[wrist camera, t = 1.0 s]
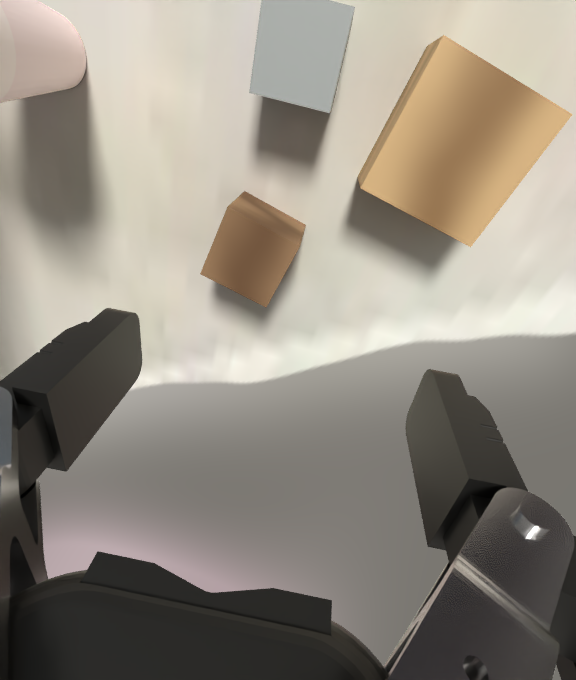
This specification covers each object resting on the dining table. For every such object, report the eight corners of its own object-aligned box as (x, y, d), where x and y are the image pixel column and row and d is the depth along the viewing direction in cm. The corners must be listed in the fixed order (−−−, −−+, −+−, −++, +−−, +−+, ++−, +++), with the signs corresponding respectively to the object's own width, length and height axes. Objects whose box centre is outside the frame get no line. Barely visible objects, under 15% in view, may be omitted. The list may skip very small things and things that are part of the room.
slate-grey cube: (263, 94, 22) (249, 92, 18) (276, 4, 20) (263, -17, 16) (331, 111, 22) (329, 113, 18) (351, 23, 20) (354, 7, 16)
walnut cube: (219, 249, 27) (200, 274, 23) (244, 190, 25) (227, 206, 21) (276, 279, 28) (266, 307, 24) (305, 224, 25) (299, 246, 22)
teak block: (357, 176, 24) (360, 188, 20) (426, 46, 20) (443, 35, 17) (452, 227, 24) (470, 247, 21) (534, 112, 21) (572, 114, 17)
